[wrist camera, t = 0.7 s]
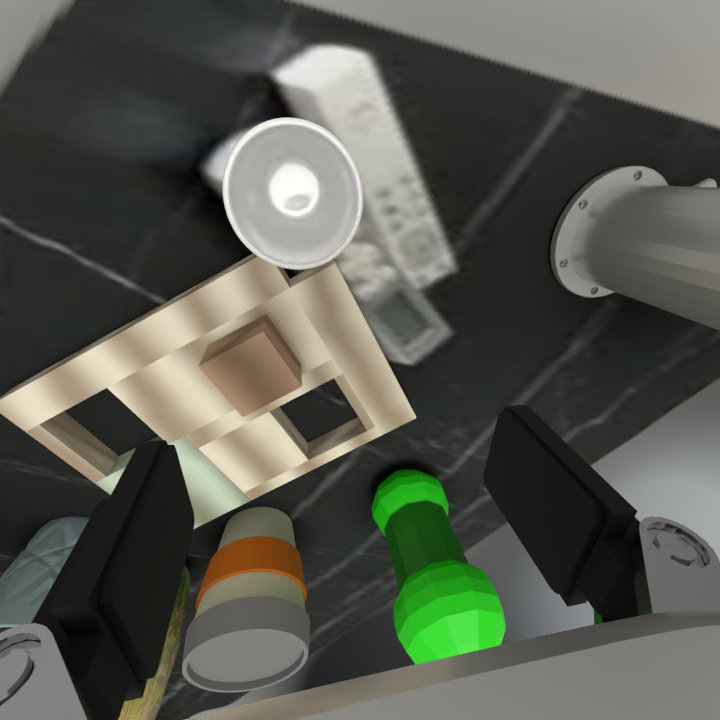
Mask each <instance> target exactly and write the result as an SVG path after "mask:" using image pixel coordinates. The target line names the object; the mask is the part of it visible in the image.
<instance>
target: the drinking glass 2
mask: <svg viewBox="0 0 720 720" xmlns="http://www.w3.org/2000/svg"><path fill="white" fill-rule="evenodd" d="M223 200H224V205H225V210H226V213H227V216H228V219H229V221H230V223H231V225H232V227H233V229H234V231H235V233H236V234H237V236H238V237H239V238H240V240H241V241H242V242H243V243H244V245H245V246H246V247H247V248H248V249H249V250H250V251H252V252H253V253H254V254H255V255H257V256H258V257H260V258H261V259H263V260H264V261H266V262H268V263H270V264H273V265H275V266H278V267H282V268H286V269H296V270H301V269H310V268H314V267H318V266H321V265H323V264H325V263H327V262H329V261H331V260H332V259H334V258H335V257H337V256H338V255H339V254H340V253H341V252H342V251H343V250H344V249H345V248H346V247H347V246H348V245H349V243H350V242H351V240H352V239H353V237H354V235H355V233H356V231H357V229H358V226H359V223H360V220H361V216H362V210H363V188H362V182H361V178H360V175H359V171H358V169H357V166H356V164H355V162H354V160H353V158H352V156H351V155H350V153H349V152H348V150H347V149H346V148H345V146H344V145H343V144H342V143H341V142H340V141H339V139H337V138H336V137H335V136H334V135H333V134H332V133H330V132H329V131H328V130H326V129H325V128H323V127H321V126H320V125H317V124H315V123H313V122H310V121H307V120H304V119H299V118H290V117H289V118H276V119H272V120H268V121H265V122H263V123H261V124H259V125H257V126H255V127H253V128H252V129H251V130H249V131H248V132H247V133H246V134H245V135H243V136H242V138H241V139H240V140H239V141H238V142H237V144H236V145H235V147H234V148H233V150H232V152H231V153H230V155H229V158H228V160H227V163H226V166H225V170H224V175H223Z"/></svg>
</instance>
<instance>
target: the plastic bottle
mask: <svg viewBox="0 0 720 720" xmlns="http://www.w3.org/2000/svg"><path fill="white" fill-rule="evenodd" d="M371 510H372V515H373V518H374V519H375V521H376V523H377V525H378V526H379V528H380V530H381V531H382V533H383V534H384V535H385V537H386V539H387V543H388V546H389V550H390V554H391V558H392V562H393V566H394V570H395V573H396V577H397V581H398V585H399V589H400V593H399V595H398V597H397V599H396V601H395V604H394V606H393V609H394V623H395V628H396V631H397V636H398V638H399V640H400V642H401V643H402V645H403V647H404V648H405V650H406V652H407V653H408V654H409V656H410V657H411V658H412V660H413V661H414V663H415V664H421V663H425V662H429V661H434V660H438V659H443V658H447V657H452V656H456V655H460V654H465V653H469V652H474V651H478V650H482V649H487V648H491V647H496V646H500V645H501V642H502V639H503V636H504V633H505V630H506V625H505V619H504V612H503V609H502V607H501V604H500V601H499V598H498V595H497V593H496V591H495V589H494V587H493V585H492V583H491V581H490V580H489V579H488V577H487V576H486V575H485V573H484V572H483V571H482V570H481V569H479V568H476V567H474V566H472V565H469V564H468V562H467V559H466V557H465V555H464V553H463V551H462V548H461V546H460V544H459V542H458V540H457V537H456V535H455V533H454V531H453V528H452V526H451V524H450V522H449V520H448V501H447V499H446V496H445V494H444V491H443V488H442V486H441V484H440V482H439V481H438V480H437V479H436V478H434V477H433V476H431V475H428V474H425V473H423V472H420V471H418V470H414V469H413V470H409V469H405V470H399V471H395V472H394V473H393V474H391V475H390V476H388V477H387V478H386V480H384V481H383V482H381V483H380V485H379V486H378V489H377V492H376V494H375V497H374V500H373V503H372V508H371Z"/></svg>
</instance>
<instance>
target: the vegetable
mask: <svg viewBox="0 0 720 720" xmlns="http://www.w3.org/2000/svg"><path fill="white" fill-rule="evenodd" d="M189 593H190V574H189V571H188V569H187V567H186V566H185V565H184V569H183V573H182V577H181V581H180V585H179V589H178V593H177V597H176V601H175V605H174V609H173V613H172V617H171V621H170V624H169V628H168V632H167V636H166V640H165V644H164V648H163V652H162V656H161V660H160V664H159V668H158V671H157V673H156V675H155V677H154V678H151V679H148V680H147V683H146V687H145V691H144V694H143V698H139V699H134V700H130V701H125V702H124V704H123V707H122V710H121V714H120V717H119V719H118V720H155V718H156V715H157V713H158V710H159V707H160V705H161V702H162V699H163V696H164V692H165V689H166V686H167V683H168V679H169V676H170V673H171V671H172V668H173V665H174V662H175V659H176V655H177V652H178V649H179V645H180V641H181V638H182V633H183V627H184V621H185V617H186V610H187V605H188V600H189Z"/></svg>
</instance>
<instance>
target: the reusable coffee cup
mask: <svg viewBox="0 0 720 720" xmlns="http://www.w3.org/2000/svg"><path fill="white" fill-rule="evenodd" d="M305 601H306V588H305V582H304V576H303V569H302V563H301V557H300V554H299V552H298V550H297V549H296V546H295V539H294V532H293V526H292V521H291V519H290V518H289V517H288V516H287V515H286V514H285V513H284V512H282V511H280V510H278V509H274V508H270V507H254V508H249V509H246V510H243V511H241V512H238V513H237V514H235V515H234V516H233V517H232V518H231V519H230V520H229V521H228V522H227V524H226V527H225V530H224V533H223V536H222V539H221V541H220V544H219V547H218V550H217V552H216V553H215V554H214V555H213V557H212V558H211V560H210V563H209V566H208V569H207V572H206V574H205V577H204V580H203V583H202V586H201V589H200V592H199V595H198V598H197V601H196V610H197V613H196V616H195V619H194V620H193V621H192V623H191V624H190V626H189V627H188V630H187V633H186V639H185V647H184V655H183V663H182V673H183V675H184V677H185V679H186V680H188V681H189V682H190V683H191V684H193V685H195V686H197V687H199V688H202V689H205V690H209V691H215V692H227V693H229V692H244V691H252V690H256V689H261V688H264V687H267V686H271V685H274V684H276V683H278V682H280V681H283V680H285V679H287V678H288V677H290V676H292V675H293V674H294V673H296V672H297V671H298V670H299V669H300V668H301V667H302V666H303V665H304V663H305V661H306V660H307V657H308V649H309V631H310V620H309V616H308V614H307V613H306V611H305V606H304V603H305Z"/></svg>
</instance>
